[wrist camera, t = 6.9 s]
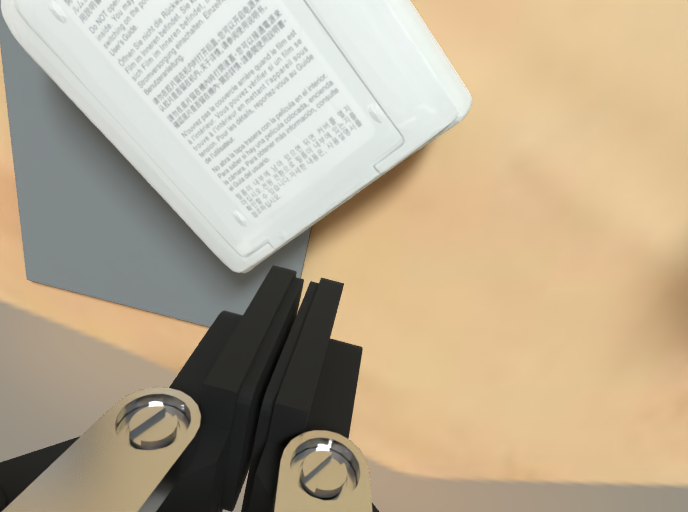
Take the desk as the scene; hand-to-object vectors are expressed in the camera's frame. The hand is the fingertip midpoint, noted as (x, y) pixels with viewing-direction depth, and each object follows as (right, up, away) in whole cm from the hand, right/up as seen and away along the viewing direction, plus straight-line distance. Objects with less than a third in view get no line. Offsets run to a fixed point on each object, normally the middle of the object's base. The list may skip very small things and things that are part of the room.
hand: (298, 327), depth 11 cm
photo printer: (+1, +4, +6) cm, 7 cm away
